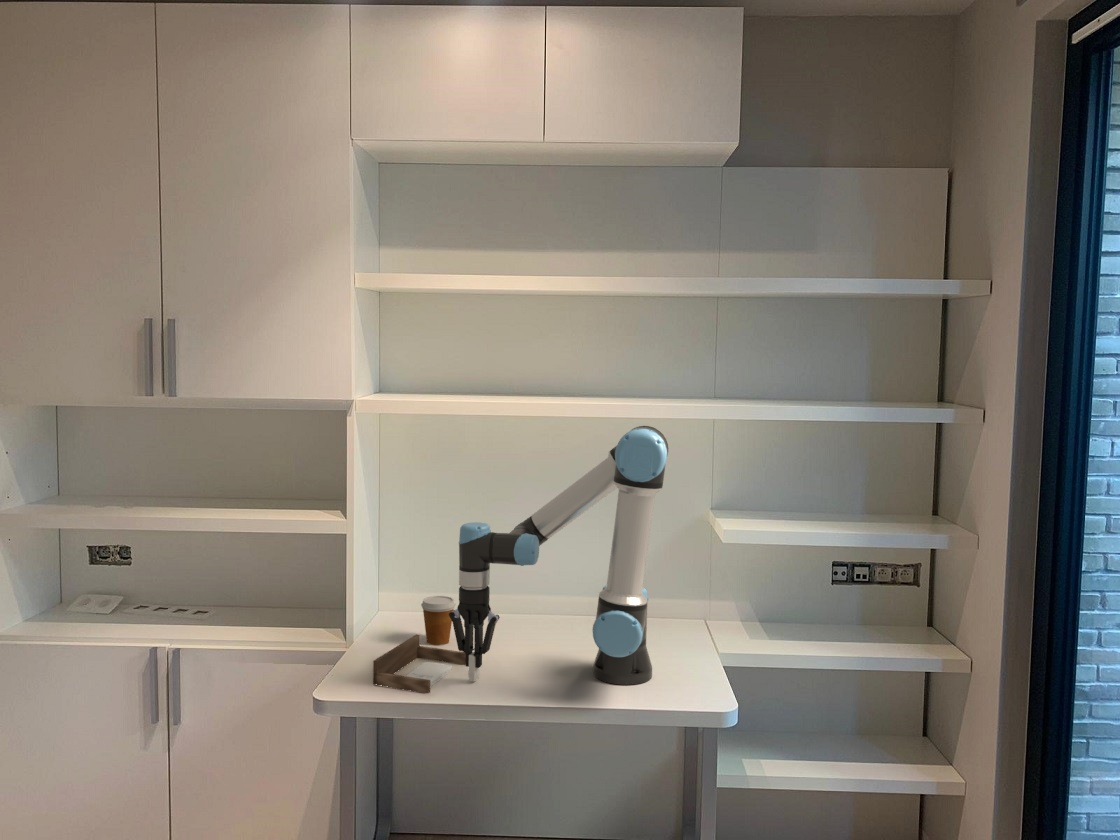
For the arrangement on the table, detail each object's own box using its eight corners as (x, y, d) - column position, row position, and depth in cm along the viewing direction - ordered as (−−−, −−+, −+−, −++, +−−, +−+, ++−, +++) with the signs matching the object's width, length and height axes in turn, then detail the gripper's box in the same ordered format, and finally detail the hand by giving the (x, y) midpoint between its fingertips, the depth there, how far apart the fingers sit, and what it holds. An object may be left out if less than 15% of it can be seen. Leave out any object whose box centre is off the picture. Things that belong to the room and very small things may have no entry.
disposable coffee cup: (422, 648, 238) (423, 605, 238) (419, 637, 248) (419, 596, 247) (457, 646, 241) (457, 603, 240) (452, 635, 250) (452, 594, 249)
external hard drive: (452, 671, 223) (430, 688, 211) (423, 667, 225) (400, 684, 214) (452, 665, 223) (430, 682, 211) (423, 661, 225) (400, 677, 214)
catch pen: (467, 663, 227) (467, 641, 227) (428, 693, 206) (428, 669, 206) (416, 656, 232) (416, 634, 232) (373, 684, 211) (373, 660, 211)
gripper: (504, 584, 215) (503, 677, 216) (456, 579, 219) (456, 671, 220) (492, 592, 207) (491, 688, 209) (443, 587, 212) (443, 681, 213)
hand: (473, 679), depth 215 cm, fingers closed
